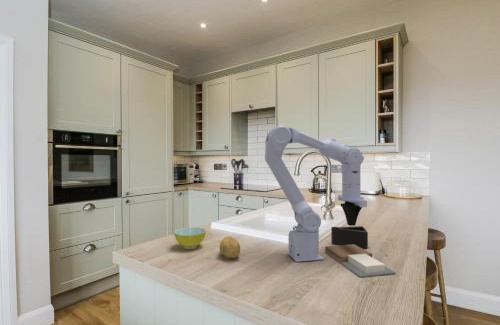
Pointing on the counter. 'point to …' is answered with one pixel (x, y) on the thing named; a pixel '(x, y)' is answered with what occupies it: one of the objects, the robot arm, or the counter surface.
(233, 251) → the potato
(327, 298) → the counter surface
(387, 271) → the mat
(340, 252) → the brown block
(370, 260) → the cream rectangular tile
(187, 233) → the bowl
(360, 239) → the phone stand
